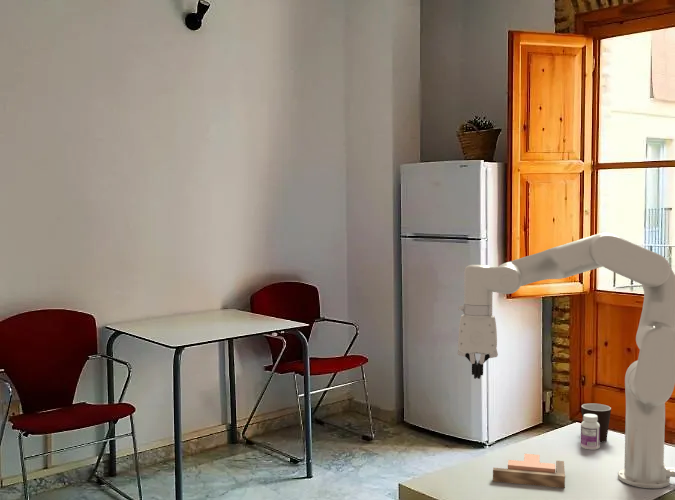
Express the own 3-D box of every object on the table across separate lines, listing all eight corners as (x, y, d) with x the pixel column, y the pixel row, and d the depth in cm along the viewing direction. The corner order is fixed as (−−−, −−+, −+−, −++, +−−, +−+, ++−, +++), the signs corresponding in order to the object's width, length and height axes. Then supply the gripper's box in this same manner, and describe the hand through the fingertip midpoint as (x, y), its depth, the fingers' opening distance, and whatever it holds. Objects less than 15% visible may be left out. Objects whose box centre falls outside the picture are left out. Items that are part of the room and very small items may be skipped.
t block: (554, 470, 208) (554, 456, 208) (555, 484, 198) (555, 469, 198) (509, 466, 211) (509, 452, 211) (507, 479, 202) (507, 464, 201)
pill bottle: (586, 443, 232) (587, 411, 231) (602, 447, 228) (603, 415, 227) (577, 447, 228) (577, 415, 228) (593, 451, 224) (594, 418, 224)
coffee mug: (612, 444, 231) (613, 411, 230) (582, 442, 232) (583, 410, 232) (606, 433, 242) (607, 401, 241) (578, 431, 244) (579, 400, 243)
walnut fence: (563, 472, 207) (563, 461, 207) (564, 488, 195) (565, 476, 195) (495, 466, 212) (495, 455, 211) (492, 481, 200) (492, 470, 200)
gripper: (448, 311, 206) (448, 379, 207) (505, 313, 202) (504, 382, 203) (452, 307, 213) (451, 373, 214) (507, 309, 209) (506, 376, 210)
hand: (477, 377), depth 209 cm, fingers closed
